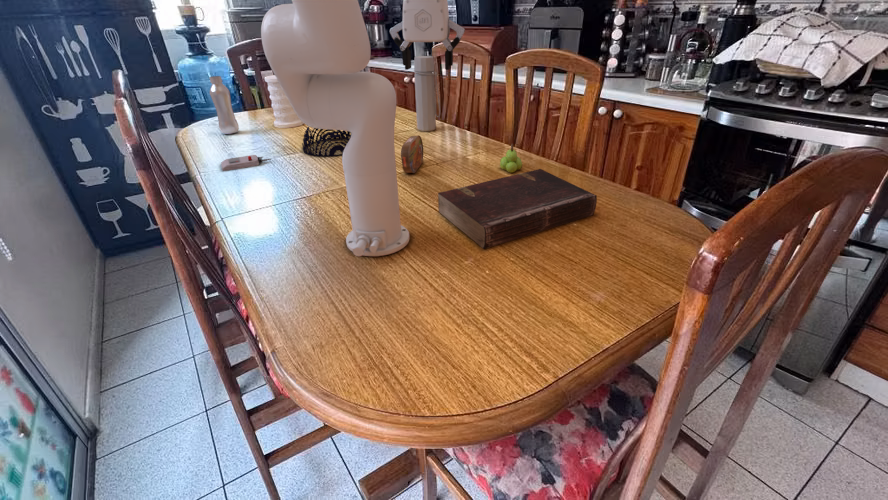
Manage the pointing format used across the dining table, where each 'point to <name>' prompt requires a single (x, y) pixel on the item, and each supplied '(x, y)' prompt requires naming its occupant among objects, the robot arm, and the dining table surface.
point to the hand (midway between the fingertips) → (427, 69)
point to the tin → (412, 154)
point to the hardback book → (515, 206)
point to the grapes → (511, 161)
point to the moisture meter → (241, 162)
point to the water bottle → (425, 93)
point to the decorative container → (281, 105)
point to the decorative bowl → (332, 135)
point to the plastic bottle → (223, 106)
